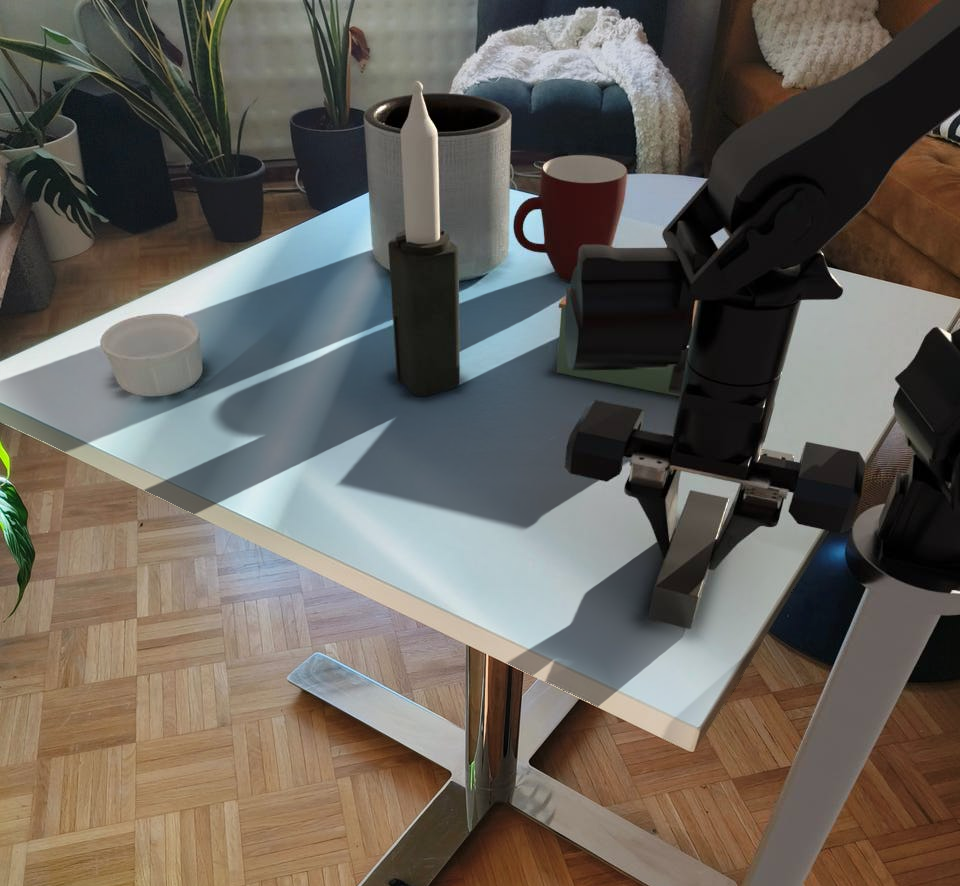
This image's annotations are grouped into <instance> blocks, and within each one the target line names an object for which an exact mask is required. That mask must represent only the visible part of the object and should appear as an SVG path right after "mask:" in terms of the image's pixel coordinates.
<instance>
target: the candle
mask: <svg viewBox="0 0 960 886" xmlns="http://www.w3.org/2000/svg"><path fill="white" fill-rule="evenodd" d="M423 86H424V85H423V83H421V82H420V81H419V80H416V81H414V82H413V83H412V85H411V90H412V94H413V97H412V101H411V106H410V110H409V115H408V118H407V120H406V121H405V123H404V125H403V127H402V129H401V152H402V172H403V192H404V212H405V230H404V231H401V232H400V233H398V234H397V236H396V239H393V240H391V241H390V242H389V243H388V248H389V264H390V271H389V274H390V275H389V276H390V277H389V278H390V294H391V307H392V323H393V324H392V325H393V340H394V355H395V357H394V358H395V370H396V371H395V372H396V379H397V381H398V382H401V383H402V384H403V385H404V386H405V387H406V388H407V389H409V391H410V394H411V395H413V396H416V397H428V396H432V395H434V394H438V393H442V392H447V391H450V390H453V389H455V388H458V386H459V385H460V382H461V370H460V369H461V367H460V366H461V365H460V362H461V361H460V358H461V357H460V356H461V355H460V351H461V350H460V281H459V249H458V247H457V246H456V245H455V244H454V243H452V242H451V241H450V237H449V234H444V231H443V230H440V217H439V174H438V133H437V129H436V127H435V126H434V124H433V122H432V121H431V119H430V118H429V116H428V112H427V109H426V106H425V102H424V99H423V95H422V94H423V93H422V92H423V90H424V87H423Z"/></svg>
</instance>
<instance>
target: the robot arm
mask: <svg viewBox="0 0 960 886" xmlns="http://www.w3.org/2000/svg"><path fill="white" fill-rule="evenodd" d="M958 112H960V0H939V1H938V2H937V3H936V4H935V5H933V6H932V7H931V8H929V10H927V11H926V12H925V13H924V14H922V15H921V16H920V17H919V18H917V19H916V20H915V21H914V22H912V23H911V24H910V25H909V26H907V27H906V28H905V29H903V31H901V32H900V33H898V35H896V36H895V37H894V38H893V39H891V40H890V41H889V42H887V43H886V44H885V45H884V46H882V48H880V49H879V50H878V51H877V52H875V53H874V54H873V55H871V56H870V57H868V59H866V60H865V61H864V62H863V63H861V64H860V65H858V66H856V67H854V68H853V69H851V70H850V71H848V72H846V73H845V74H843V75H841V76H839V77H837V78H835V79H833V80H830V81H827V82H824V83H822V84H819V85H817V86H814V87H811V88H809V89H805V90H804V91H801V92H799V93H795V94H794V95H791V96H790V97H788V98H786V99H785V100H783V101H782V102H780V103H778V104H777V105H774V106H773V107H772V108H769V109H768V110H767V111H765V112H763V113H761V114H760V115H758V116H757V117H755V118H753V119H752V120H750V121H749V122H747V123H745V124H743V125H742V126H740V127H739V128H737V129H736V130H734V131H732V133H731V134H730V135H729V136H728V137H727V138H726V139H725V140H724V142H722V143H721V145H720V146H719V147H718V149H717V150H716V152H715V154H714V156H713V157H712V160H711V162H712V164H711V167H710V170H709V171H710V172H709V175H708V178H707V179H706V180H705V181H704V183H703V184H702V185H701V186H700V187H699V188H698V190H697V191H696V192H695V193H694V194H693V195H692V196H691V198H690V199H689V200H688V201H687V202H686V203H685V204H684V206H683V207H681V209H680V211H679V212H678V213H677V214H676V215H674V217H673V218H672V220H671V221H670V222H669V223H668V224H667V226H665V228H664V229H663V230H662V233H661V234H662V235H661V237H662V239H663V241H664V244H665V245H666V247H614V246H612V247H610V246H606V245H582V246H581V247H580V248H579V251H578V263H577V266H576V267H575V269H574V271H573V275H572V280H571V282H570V288H569V287H568V288H566V293H565V295H566V308H565V345H566V356H567V363H568V367H569V369H570V370H571V371H575V370H640V369H665V368H666V367H668V365H674V366H673V370H672V374H671V379H670V383H669V390H668V391H669V393H673V394H678V395H680V396H679V397H678V403H677V409H676V414H675V420H674V426H673V430H672V435H671V434H666V433H657V432H652V431H647V430H643V429H642V428H643V424H644V423H643V422H644V416H645V413H644V410H643V408H637V407H633V406H628V405H622V404H619V403H613V402H608V401H603V400H597V399H594V400H593V401H592V402H591V403H589V404H588V405H587V406H585V408H584V409H583V412H582V413H581V415H580V417H579V418H578V420H577V422H576V424H575V425H574V427H573V429H572V431H571V432H570V434H569V436H568V440H567V444H566V447H565V459H564V460H565V461H564V469H565V470H566V471H567V472H568V474H570V475H574V476H579V477H583V478H587V479H592V480H597V481H601V482H609V481H611V480H612V479H614V478H616V477H617V476H619V475H621V472H622V470H623V463H624V458H627V459H629V466H630V469H629V470H630V471H629V476H628V477H627V479H626V481H625V483H624V489H623V491H624V494H625V495H627V496H628V497H631V498H635V499H636V500H637V502H638V504H639V505H640V507H641V508H642V510H643V512H644V514H645V516H646V518H647V520H648V522H649V523H650V526H651V529H652V531H653V534H654V537H655V540H656V543H657V545H658V549H659V552H660V554H661V557H662V559H664V560H665V557H666V554H667V552H668V549H669V546H670V543H671V541H672V538H673V535H674V533H675V530H676V527H677V513H678V500H679V499H678V498H679V485H680V478H681V472H684V473H688V474H693V475H698V476H702V477H707V478H712V479H717V480H721V481H726V482H730V483H736V484H739V485H738V488H737V490H736V494H735V496H734V499H733V501H732V503H731V506H730V507H729V510H728V511H727V514H726V516H725V519H724V523H723V527H722V529H721V531H720V534H719V536H718V538H717V541H716V544H715V547H714V550H713V554H712V557H711V561H710V566H709V571H715V570H716V569H717V568H718V566H719V565H720V564H721V563H722V562H723V561H724V560H725V559H726V557H727V556H728V555H729V554H730V553H731V552H732V551H733V550H734V549H735V548H736V547H737V546H738V544H740V543H741V542H742V541H743V540H745V539H746V538H747V537H749V536H750V535H751V534H752V533H754V532H755V531H756V530H758V529H759V528H760V527H766V528H774V527H777V526H778V524H779V521H780V517H781V514H782V509H783V505H784V500H787V497H788V494H789V493H792V497H791V500H790V503H789V506H788V510H787V512H788V513H789V514H790V516H791V517H792V519H793V520H794V521H795V522H796V524H797V525H800V526H804V527H805V526H806V527H810V528H814V529H819V530H823V531H827V532H832V533H837V534H841V533H842V534H843V533H844V532H848V531H851V530H850V529H851V527H852V526H853V522H854V519H855V517H856V514H857V511H858V507H859V504H860V501H861V499H862V498H861V497H862V491H863V483H864V475H865V469H866V468H865V467H866V461H865V459H864V458H863V456H862V455H861V453H860V451H856V450H851V449H845V448H841V447H836V446H830V445H825V444H819V443H815V442H811V441H806V442H805V444H804V446H803V449H802V451H801V452H802V453H801V455H800V459H799V461H795V455H794V454H792V453H791V454H790V453H786V452H782V451H777V450H772V449H768V448H763V446H764V445H763V444H764V443H765V441H766V437H767V435H768V431H769V427H770V423H771V421H772V420H771V419H772V416H773V412H774V408H775V405H776V401H775V400H776V396H777V392H778V389H779V385H780V381H781V377H782V374H783V370H784V366H785V363H786V359H787V355H788V351H789V346H790V344H791V340H792V336H793V333H794V328H795V325H796V321H797V318H798V314H799V311H800V306H801V303H802V301H831V300H838V299H840V298H841V297H842V296H843V294H844V288H843V287H842V285H841V284H840V283H839V282H838V280H837V279H836V278H835V276H834V274H833V273H831V271H830V269H829V267H828V265H827V262H826V258H825V254H824V252H822V250H823V248H825V247H826V246H827V245H828V244H829V243H830V242H831V241H832V240H833V239H834V238H835V237H836V236H837V235H838V234H839V233H841V231H843V229H845V228H846V227H847V225H849V224H850V223H851V222H852V221H853V220H854V219H855V218H856V217H857V216H858V215H859V214H860V213H862V212H863V210H865V209H866V208H867V206H868V205H869V204H870V202H871V201H872V200H873V198H874V196H875V195H876V194H877V191H878V190H879V189H880V187H881V186H882V184H883V182H884V181H885V180H886V178H887V176H888V175H889V173H890V172H891V170H892V168H893V167H894V166H895V165H896V163H897V162H898V161H899V160H900V159H901V158H903V156H904V155H905V154H907V152H909V151H910V149H912V148H913V147H914V146H915V145H916V144H917V143H918V142H919V141H922V139H924V138H925V137H926V136H927V135H929V134H930V133H932V132H933V131H934V130H936V129H937V128H939V126H941V125H943V124H944V123H945V122H946V121H948V120H949V119H950V118H952V117H953V116H954V115H956V114H957V113H958ZM722 230H724V231H725V233H726V235H727V236H728V238H727V239H726V240H725V241H724V242H723V243H722V244H721V245H720V246H719V247H718V246H717V244H716V242H715V241H714V239H713V238H712V236H713V235H715V234H717V233H718V232H720V231H722ZM695 301H697V307H696V312H695V317H694V323H693V312H694V305H695ZM692 323H693V328H692ZM691 331H692V334H691ZM690 336H691V339H690ZM689 340H690V345H689V346H688V343H689ZM894 381H895V382H896V384H897V385H898V386H899V387H898V389H897V391H896V393H895V395H894V396H893V402H892V407H893V413H894V417H895V420H896V422H897V424H898V426H899V427H900V428H901V429H902V431H903V432H904V442H905V443H906V445H907V447H909V448H911V449H912V451H913V453H915V454H913V456H912V457H911V461H910V463H909V466H908V468H907V471H906V473H903V472H900V473H898V474H896V475H895V478H894V480H893V483H892V485H891V488H890V490H889V493H888V495H887V498H886V500H885V503H884V504H885V505H884V507H883V510H882V512H881V515H880V518H879V526H878V535H877V536H878V538H879V539H881V540H882V544H881V554H880V558H881V560H882V561H884V562H886V563H890V564H895V565H899V566H903V567H908V568H912V569H917V570H921V571H926V572H930V573H934V574H939V575H943V576H948V577H952V578H956V579H960V328H958V329H956V330H955V331H953V332H951V333H949V332H948V331H946V330H945V329H942V328H940V327H939V326H935V327H932V328H931V329H930V330H929V331H928V332H927V333H926V334H925V336H924V338H923V339H922V342H921V344H920V346H919V348H918V350H917V352H916V354H915V355H914V357H913V358H912V360H911V361H910V362H909V364H908V365H907V366H906V367H905V368H904V369H903V370H902V371H901V372H899V374H897V375H896V376H895V377H894Z"/></svg>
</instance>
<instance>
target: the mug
mask: <svg viewBox="0 0 960 886" xmlns="http://www.w3.org/2000/svg"><path fill="white" fill-rule="evenodd" d="M540 174H541V177H540V185H539V194H538V196H532V197H530V198H527V199H526V200H524V201H523V202H522V203H521V204H520V205H519V207H518V208H517V210H516V212H515V215H514V217H513V233H514V237H515V240H516V241H517V243H518V244H519V245H520V246H521V247H522V248H524V249H526V250H528V251H530V252H534V253H538V254H539V253H541V254H546V256H547V257H548V259H549V262H550V264H551V266H552V268H553V270H554V272H555V275H556V276H557V277H558V278H559V279H561V280H562V281H565V282H569V283H571V280H572V275H573V271H574V269H575V267H576V266H577V263H578V251H579V248H580V247H581V246H582V245H606V246H610V247H613V244H614V241H615V237H616V234H617V233H616V232H617V230H618V225H619V222H620V219H621V216H622V211H623V207H624V203H625V198H626V190H627V182H628V181H627V180H628V169H627V166H626V165H625V164H623V163H621V162H620V161H618V160H615V159H612V158H609V157H604V156H598V155H590V154H589V155H588V154H573V155H565V156H558V157H555V158H551V159H549V160H547V161H546V162H544V163H543V164H542V167H541V173H540ZM537 210H540V213H541V220H542V229H543V242H544V243H537V242H532V241H530V240H529V239H528V238H527V237H526V235H525V233H524V232H525V231H524V225H525V220H526V218H527V216H528V215H529V214H530V213H531V212H533V211H537Z"/></svg>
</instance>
